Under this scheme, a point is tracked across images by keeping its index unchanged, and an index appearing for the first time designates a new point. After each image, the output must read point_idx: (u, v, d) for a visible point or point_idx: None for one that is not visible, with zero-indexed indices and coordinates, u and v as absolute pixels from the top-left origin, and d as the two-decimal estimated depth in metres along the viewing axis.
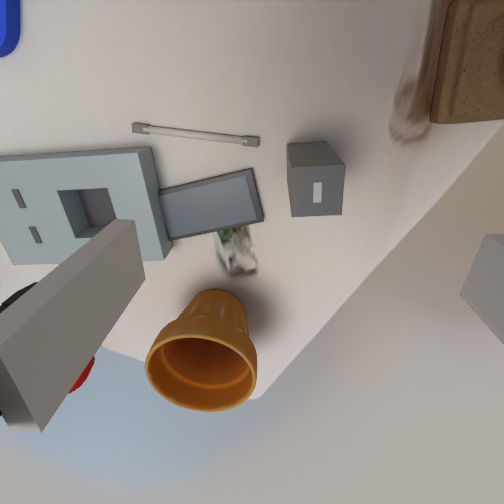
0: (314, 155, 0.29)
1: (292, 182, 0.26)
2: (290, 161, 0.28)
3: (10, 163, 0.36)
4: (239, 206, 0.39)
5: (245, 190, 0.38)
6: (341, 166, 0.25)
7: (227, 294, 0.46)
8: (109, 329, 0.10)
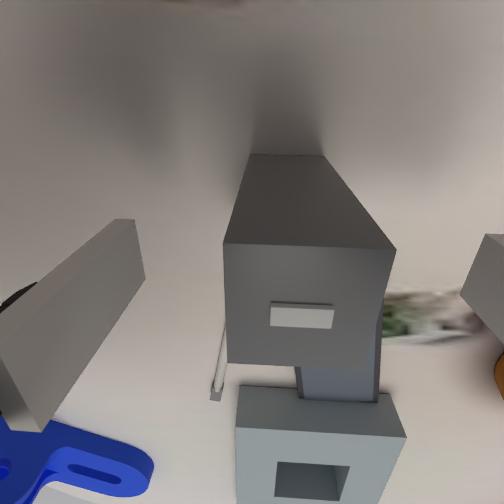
0: None
1: (265, 362, 0.10)
2: None
3: None
4: None
5: None
6: (229, 252, 0.08)
7: None
8: (109, 329, 0.10)
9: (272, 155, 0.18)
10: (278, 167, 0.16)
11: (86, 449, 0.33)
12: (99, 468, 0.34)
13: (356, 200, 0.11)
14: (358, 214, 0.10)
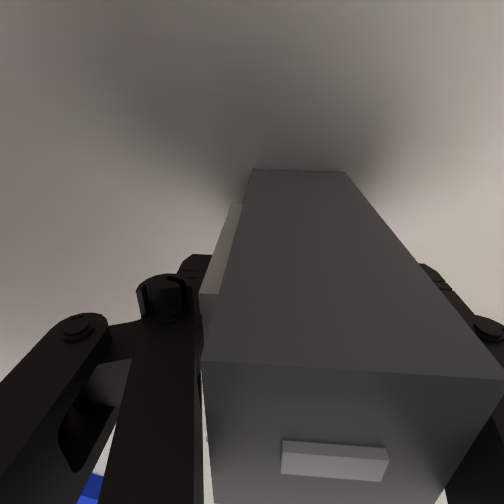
0: None
1: None
2: None
3: None
4: None
5: None
6: (211, 371, 0.05)
7: None
8: None
9: (280, 171, 0.15)
10: (288, 190, 0.12)
11: None
12: None
13: (405, 251, 0.08)
14: (417, 283, 0.06)
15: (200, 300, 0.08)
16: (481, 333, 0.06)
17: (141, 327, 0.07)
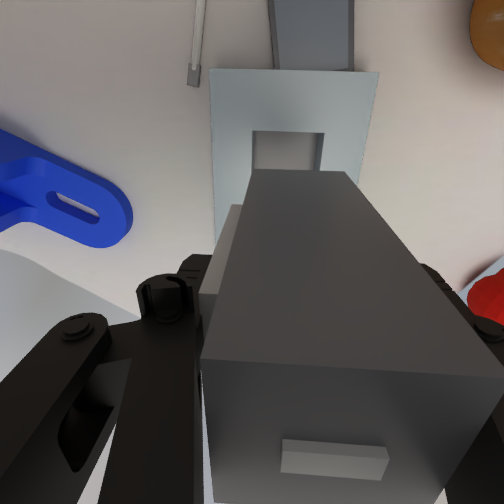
0: None
1: None
2: None
3: (217, 236, 0.33)
4: None
5: None
6: (211, 370, 0.05)
7: None
8: None
9: (280, 170, 0.15)
10: (288, 189, 0.12)
11: (64, 167, 0.33)
12: (77, 197, 0.34)
13: (405, 250, 0.08)
14: (417, 281, 0.06)
15: (200, 300, 0.08)
16: (481, 333, 0.06)
17: (141, 327, 0.07)
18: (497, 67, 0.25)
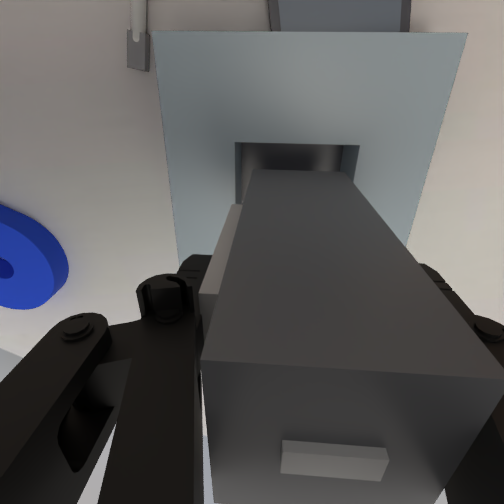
0: None
1: None
2: None
3: None
4: None
5: None
6: (211, 371, 0.05)
7: None
8: None
9: (280, 170, 0.15)
10: (288, 189, 0.12)
11: None
12: None
13: (405, 251, 0.08)
14: (417, 282, 0.06)
15: (200, 299, 0.08)
16: (481, 333, 0.06)
17: (141, 327, 0.07)
18: None
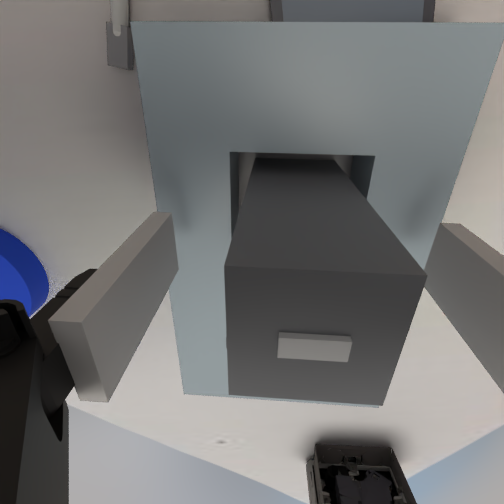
0: None
1: (271, 395, 0.09)
2: None
3: (177, 327, 0.19)
4: None
5: None
6: (231, 276, 0.07)
7: None
8: (153, 314, 0.11)
9: (279, 159, 0.17)
10: (285, 172, 0.14)
11: None
12: None
13: (374, 212, 0.10)
14: (378, 229, 0.09)
15: (52, 327, 0.07)
16: None
17: None
18: None
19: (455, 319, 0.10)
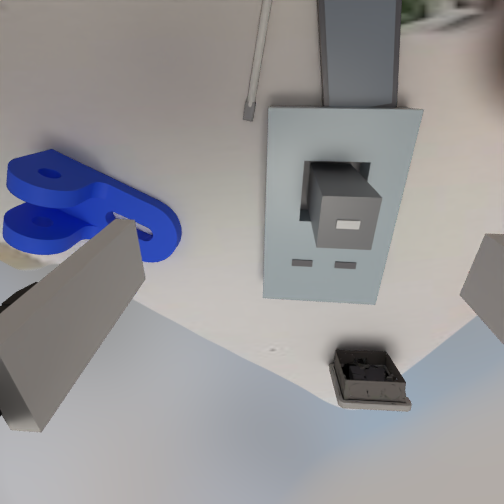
0: (314, 203, 0.28)
1: (331, 247, 0.25)
2: None
3: (266, 254, 0.36)
4: None
5: None
6: (324, 199, 0.24)
7: None
8: (109, 329, 0.10)
9: None
10: (329, 170, 0.31)
11: (124, 190, 0.36)
12: (134, 217, 0.37)
13: (368, 184, 0.26)
14: (369, 188, 0.25)
15: None
16: None
17: None
18: None
19: None
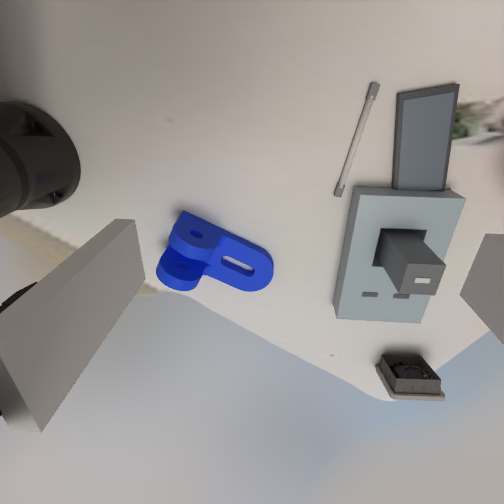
0: (391, 260, 0.42)
1: (409, 293, 0.39)
2: (392, 282, 0.41)
3: (344, 288, 0.49)
4: (433, 110, 0.39)
5: (418, 102, 0.38)
6: (408, 265, 0.37)
7: None
8: (109, 329, 0.10)
9: None
10: (396, 233, 0.44)
11: (238, 241, 0.49)
12: (242, 259, 0.50)
13: (431, 250, 0.40)
14: (434, 255, 0.39)
15: None
16: None
17: None
18: None
19: None
